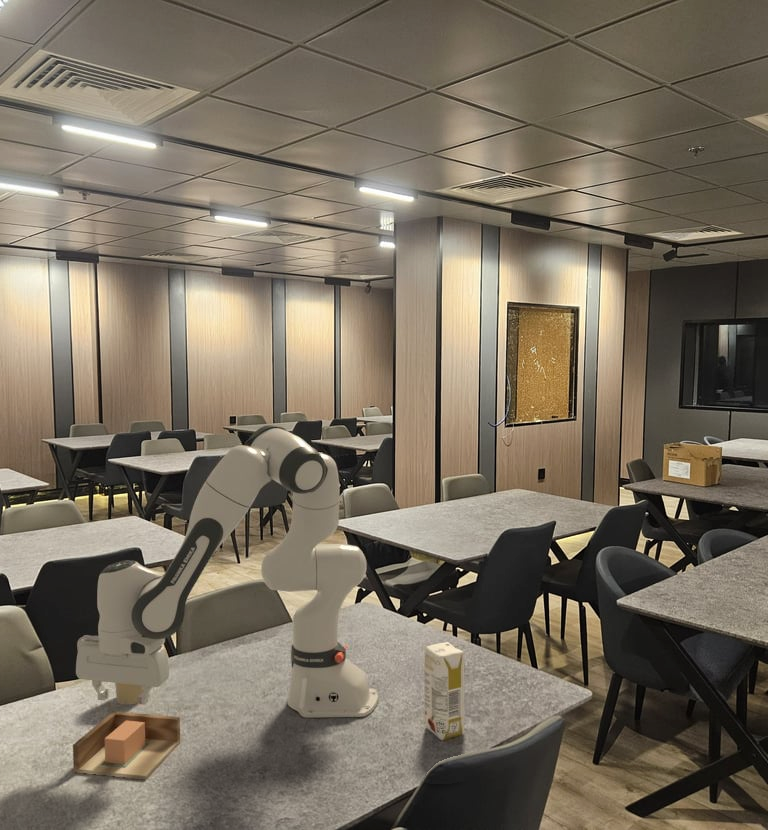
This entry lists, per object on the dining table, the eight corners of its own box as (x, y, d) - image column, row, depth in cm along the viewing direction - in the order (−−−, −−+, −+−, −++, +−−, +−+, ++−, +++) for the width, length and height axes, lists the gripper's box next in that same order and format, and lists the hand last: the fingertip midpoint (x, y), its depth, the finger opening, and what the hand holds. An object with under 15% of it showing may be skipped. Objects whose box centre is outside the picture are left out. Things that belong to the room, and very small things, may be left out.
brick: (124, 764, 149) (124, 740, 149) (105, 762, 150) (104, 738, 150) (145, 744, 157) (144, 722, 156) (126, 742, 158) (126, 720, 157)
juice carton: (440, 743, 158) (440, 658, 157) (420, 726, 166) (420, 645, 165) (469, 735, 162) (469, 652, 161) (448, 719, 170) (448, 639, 169)
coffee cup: (160, 692, 185) (159, 646, 184) (136, 708, 176) (135, 660, 176) (130, 687, 188) (128, 642, 187) (105, 702, 179) (104, 655, 179)
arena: (180, 742, 160) (179, 716, 159) (146, 779, 145) (145, 751, 145) (113, 736, 162) (113, 711, 162) (73, 772, 148) (72, 744, 147)
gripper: (68, 639, 152) (70, 703, 153) (156, 647, 148) (158, 713, 149) (86, 629, 158) (88, 690, 159) (171, 636, 154) (173, 699, 155)
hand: (123, 701), depth 154 cm, fingers open, 8 cm apart
